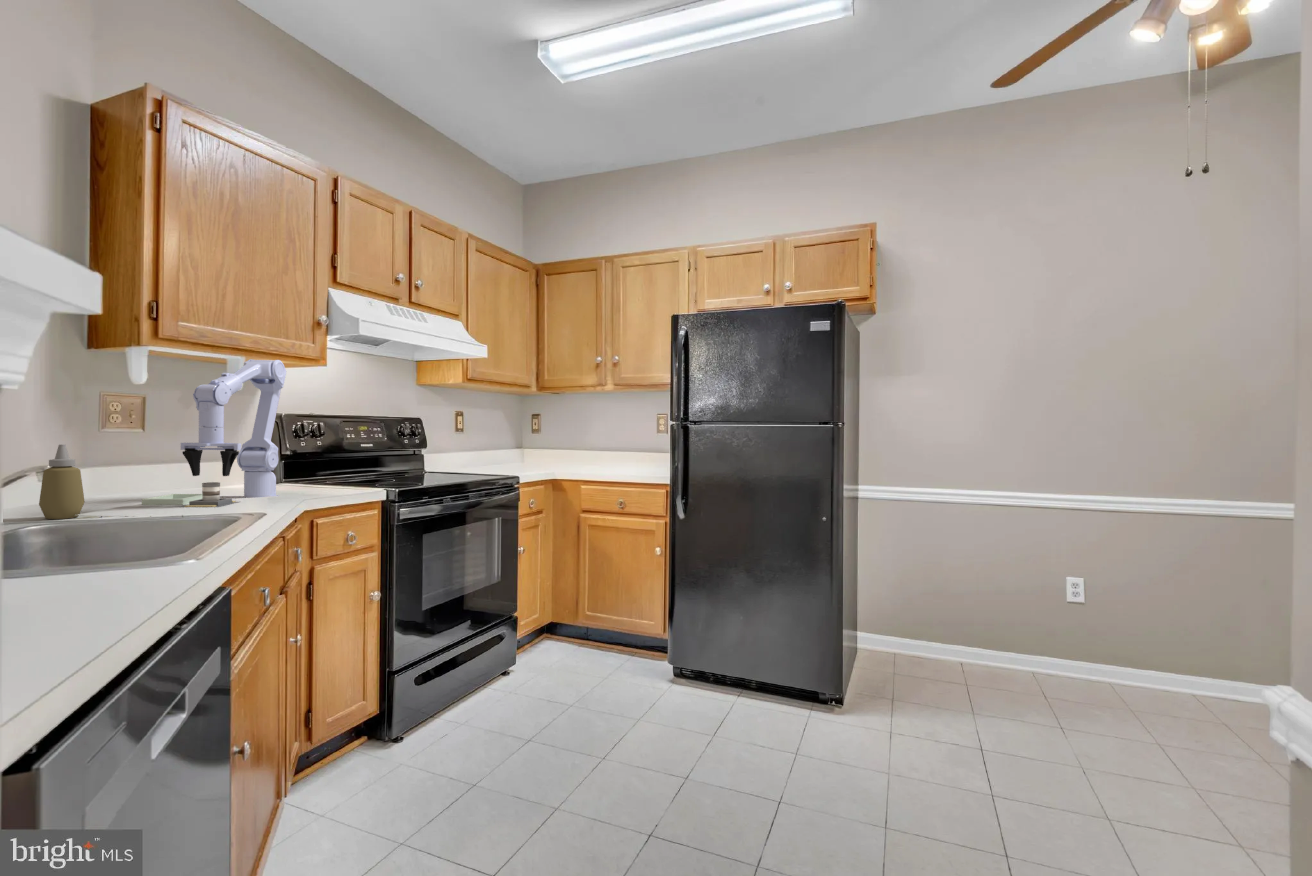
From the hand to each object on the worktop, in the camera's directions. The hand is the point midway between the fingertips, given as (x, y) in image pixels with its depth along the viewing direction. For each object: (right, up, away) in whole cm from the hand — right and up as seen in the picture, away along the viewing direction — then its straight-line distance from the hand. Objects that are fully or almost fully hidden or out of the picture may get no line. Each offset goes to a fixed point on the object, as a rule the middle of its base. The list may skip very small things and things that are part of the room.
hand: (211, 475), depth 172 cm
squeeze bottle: (-21, -9, -21) cm, 31 cm away
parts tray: (-13, -9, +4) cm, 16 cm away
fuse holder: (0, -9, 0) cm, 9 cm away
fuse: (0, -8, 0) cm, 8 cm away
